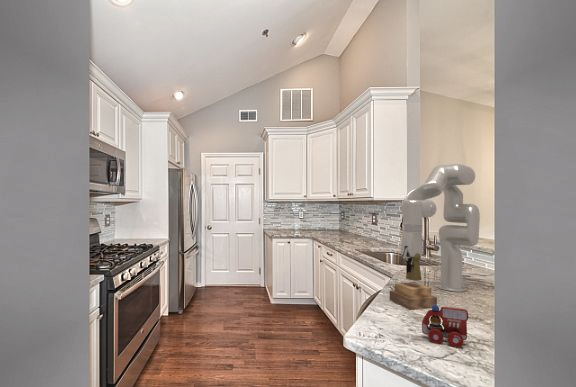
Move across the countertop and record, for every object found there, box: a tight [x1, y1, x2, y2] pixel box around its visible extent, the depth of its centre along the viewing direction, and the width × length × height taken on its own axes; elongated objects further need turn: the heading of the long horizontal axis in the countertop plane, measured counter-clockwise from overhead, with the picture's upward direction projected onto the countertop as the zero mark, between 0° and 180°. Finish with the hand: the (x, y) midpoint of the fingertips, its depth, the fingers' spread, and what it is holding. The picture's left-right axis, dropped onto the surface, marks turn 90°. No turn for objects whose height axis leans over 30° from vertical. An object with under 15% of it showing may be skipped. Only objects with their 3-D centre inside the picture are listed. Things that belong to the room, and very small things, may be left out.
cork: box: [405, 253, 422, 282], centre depth 129 cm, size 6×6×11 cm
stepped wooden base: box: [389, 281, 438, 311], centre depth 129 cm, size 13×13×8 cm
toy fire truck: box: [421, 304, 469, 348], centre depth 93 cm, size 7×12×10 cm, turn 64°
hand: (412, 273), depth 129 cm, fingers closed on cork, 2 cm apart
